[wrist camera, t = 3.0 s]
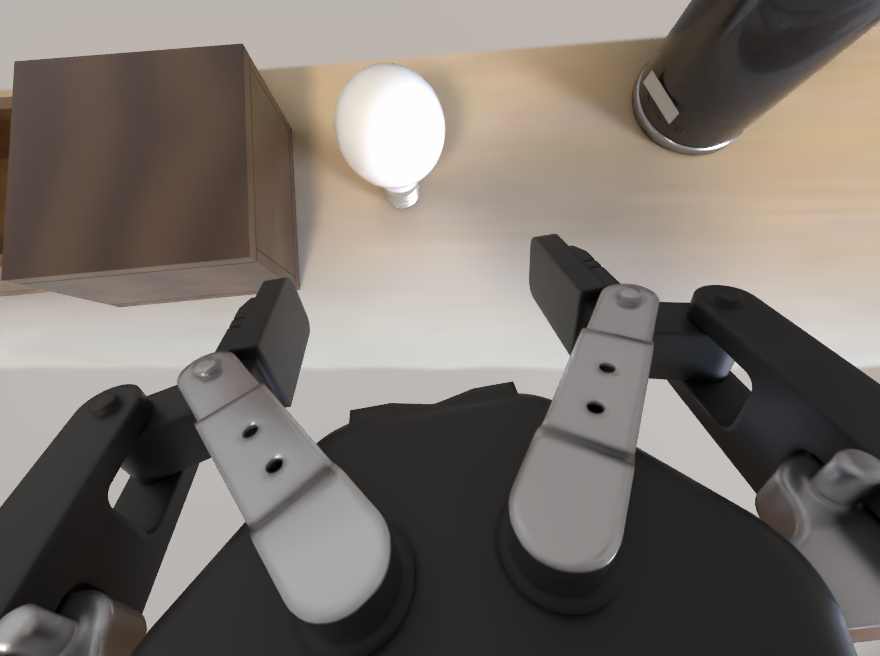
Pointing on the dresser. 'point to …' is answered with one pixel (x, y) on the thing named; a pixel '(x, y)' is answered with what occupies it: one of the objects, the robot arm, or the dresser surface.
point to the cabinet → (148, 178)
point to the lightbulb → (390, 129)
